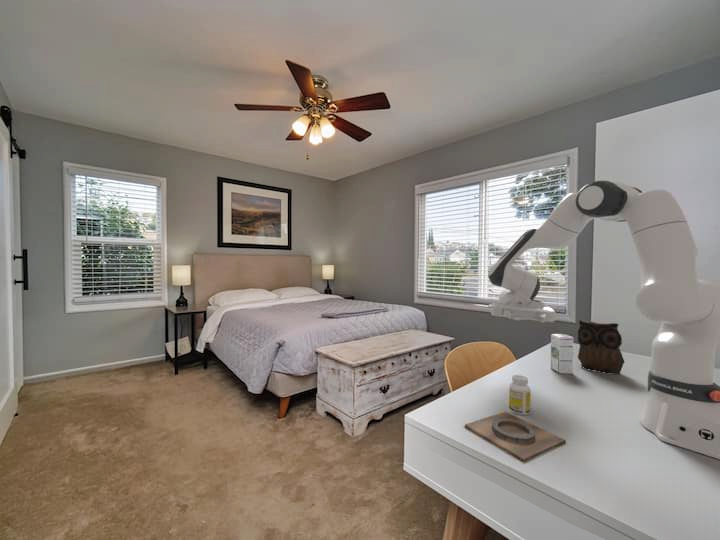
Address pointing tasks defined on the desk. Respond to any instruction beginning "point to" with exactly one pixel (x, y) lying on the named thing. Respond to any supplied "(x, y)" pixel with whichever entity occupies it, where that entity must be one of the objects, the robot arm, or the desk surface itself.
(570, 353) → the syrup box
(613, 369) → the owl
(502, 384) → the desk surface
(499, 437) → the board
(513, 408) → the supplement bottle
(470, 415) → the desk surface
